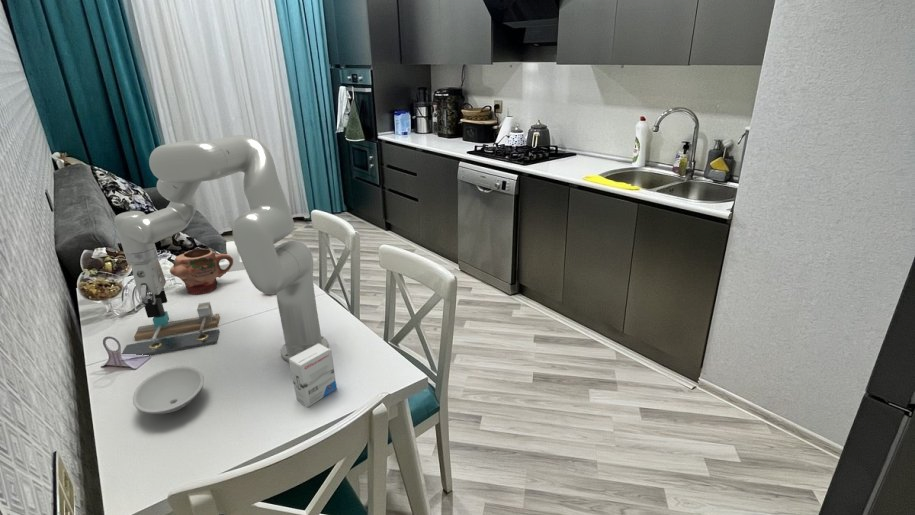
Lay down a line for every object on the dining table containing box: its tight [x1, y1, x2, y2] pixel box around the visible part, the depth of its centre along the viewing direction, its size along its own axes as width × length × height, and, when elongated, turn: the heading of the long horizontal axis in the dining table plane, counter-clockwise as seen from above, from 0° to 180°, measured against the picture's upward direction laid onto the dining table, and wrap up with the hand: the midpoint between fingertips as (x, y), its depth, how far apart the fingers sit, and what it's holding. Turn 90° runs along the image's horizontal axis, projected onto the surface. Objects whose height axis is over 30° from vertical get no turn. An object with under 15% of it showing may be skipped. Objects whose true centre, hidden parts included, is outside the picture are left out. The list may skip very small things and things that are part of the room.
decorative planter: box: [169, 248, 233, 295], centre depth 167 cm, size 20×12×14 cm, turn 120°
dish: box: [132, 365, 205, 415], centre depth 109 cm, size 18×14×5 cm
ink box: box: [288, 343, 338, 408], centre depth 110 cm, size 9×5×12 cm, turn 141°
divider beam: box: [133, 301, 221, 342], centre depth 138 cm, size 13×22×6 cm, turn 109°
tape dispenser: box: [219, 240, 246, 273], centre depth 186 cm, size 10×18×11 cm, turn 111°
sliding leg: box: [151, 298, 170, 344], centre depth 136 cm, size 12×3×9 cm, turn 19°
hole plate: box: [121, 328, 221, 357], centre depth 134 cm, size 7×24×1 cm, turn 109°
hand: (158, 309), depth 139 cm, fingers open, 8 cm apart
